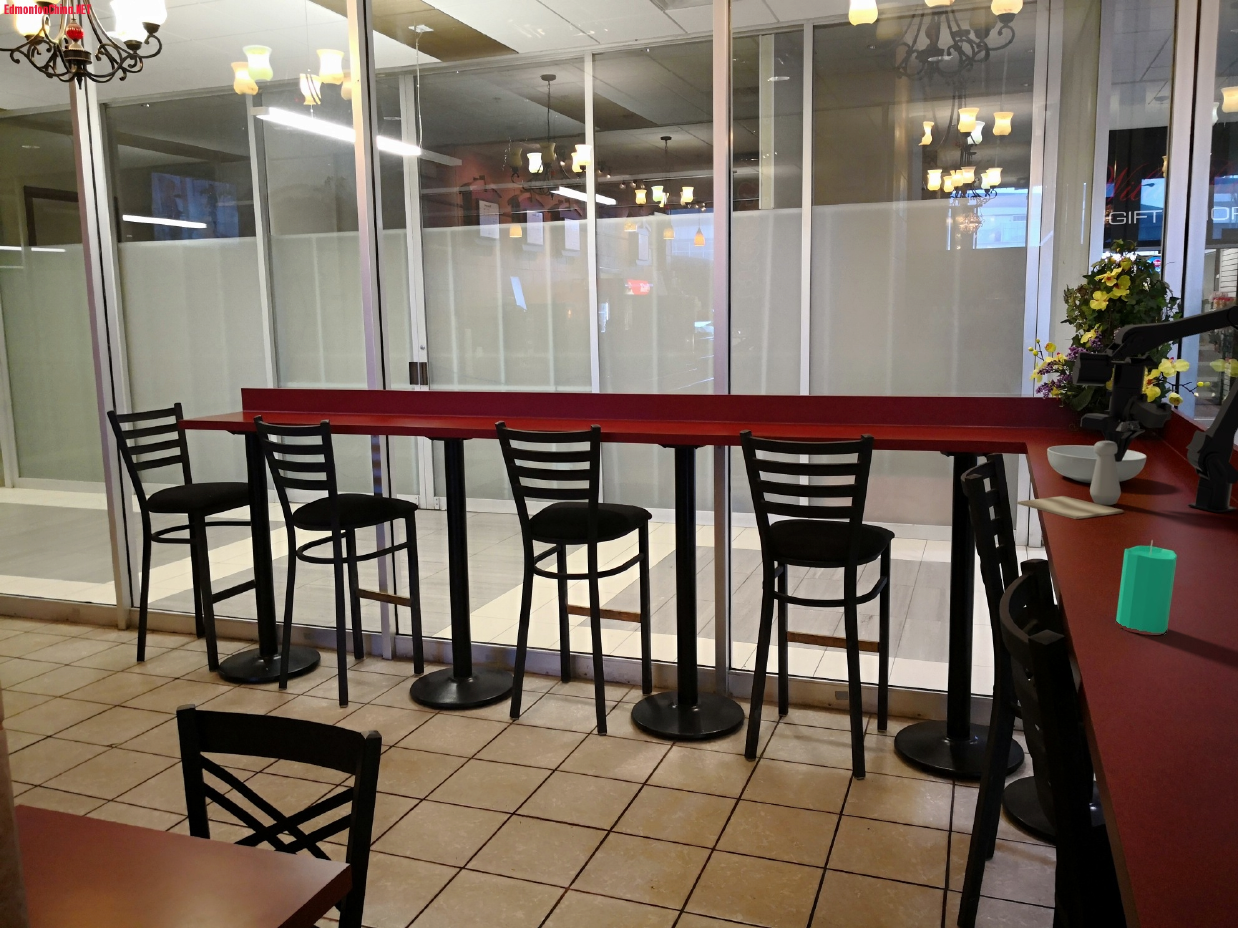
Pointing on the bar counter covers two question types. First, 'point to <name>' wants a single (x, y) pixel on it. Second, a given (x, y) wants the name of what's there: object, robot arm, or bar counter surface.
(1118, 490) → the salt shaker
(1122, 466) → the serving bowl
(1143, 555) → the candle
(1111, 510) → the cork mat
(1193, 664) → the bar counter surface
